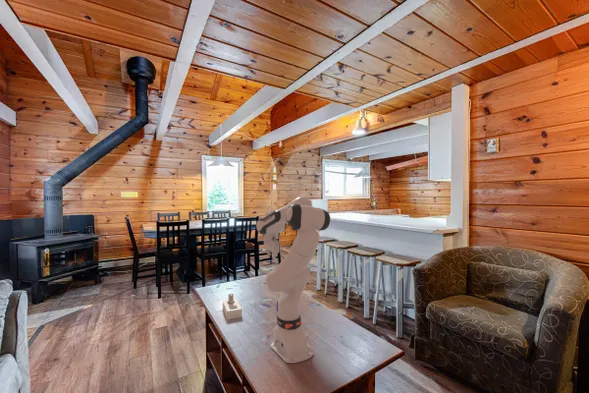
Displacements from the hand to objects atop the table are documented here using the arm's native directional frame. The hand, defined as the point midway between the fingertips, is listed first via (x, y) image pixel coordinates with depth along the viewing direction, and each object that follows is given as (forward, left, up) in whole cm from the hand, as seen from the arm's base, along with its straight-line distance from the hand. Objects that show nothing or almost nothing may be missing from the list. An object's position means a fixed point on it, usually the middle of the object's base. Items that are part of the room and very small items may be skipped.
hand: (271, 257), depth 165 cm
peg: (+10, +24, -34) cm, 43 cm away
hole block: (+6, +24, -34) cm, 42 cm away
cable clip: (0, -9, -34) cm, 36 cm away
